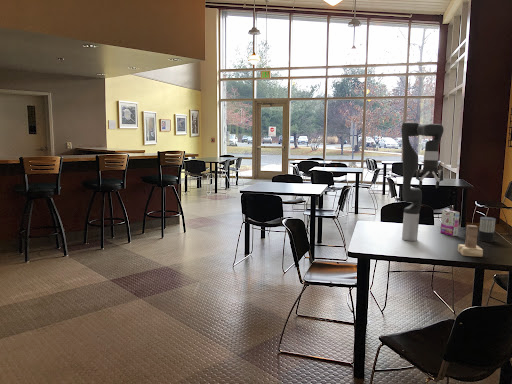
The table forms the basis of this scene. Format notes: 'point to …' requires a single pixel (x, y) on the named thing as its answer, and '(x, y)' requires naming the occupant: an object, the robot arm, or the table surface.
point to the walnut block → (471, 236)
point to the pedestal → (470, 251)
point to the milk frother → (486, 229)
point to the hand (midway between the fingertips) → (428, 187)
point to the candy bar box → (450, 222)
